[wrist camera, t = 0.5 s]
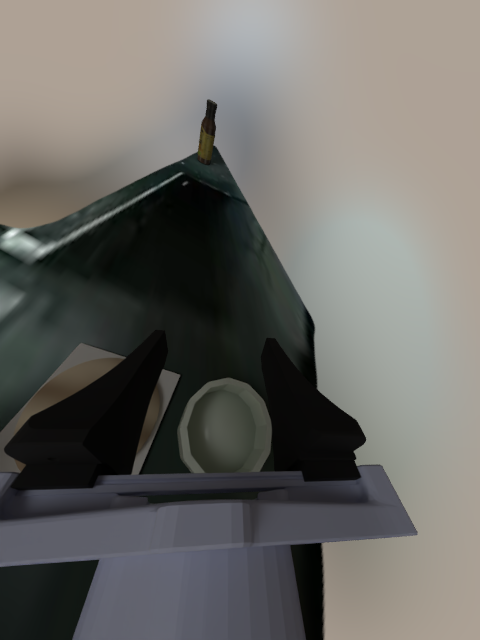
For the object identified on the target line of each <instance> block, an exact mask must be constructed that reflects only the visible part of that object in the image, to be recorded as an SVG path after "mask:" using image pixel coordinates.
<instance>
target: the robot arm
mask: <svg viewBox="0 0 480 640" xmlns="http://www.w3.org/2000/svg"><path fill="white" fill-rule="evenodd" d="M167 353H168V348H167V341H166V335H165V331H162V330H155V331H154V332H153V333H152V334H151V335H150V336H149V337H148V338H147V339H146V340H145V341H144V342H143V343H142V344H141V345H140V346H138V347H137V348H136V349H135V350H134V351H133V352H132V353H131V354H130V355H128V356H127V357H126V358H125V359H124V360H123V361H121V362H120V363H119V364H118V365H116V366H115V367H114V368H113V369H111V370H110V371H108V372H107V373H106V374H104V375H103V376H101V377H100V378H98V379H97V380H95V381H94V382H92V383H91V384H89V385H88V386H86V387H84V388H83V389H81V390H79V391H78V392H76V393H74V394H73V395H71V396H69V397H67V398H65V399H64V400H62V401H60V402H58V403H56V404H54V405H52V406H50V407H48V408H46V409H44V410H42V411H40V412H38V413H36V414H34V415H32V416H31V417H30V418H29V419H28V420H27V421H26V422H25V423H24V425H23V426H22V427H21V428H20V429H19V430H18V432H17V433H16V434H15V435H14V436H13V438H12V439H11V440H10V441H9V442H8V444H7V445H6V446H5V448H4V452H5V453H6V454H7V455H8V456H10V457H12V458H14V459H16V460H18V461H19V462H21V463H23V464H25V465H26V466H25V467H24V468H23V470H22V471H21V473H18V472H0V567H2V566H16V565H29V564H43V563H56V562H70V561H84V560H98V559H100V560H99V563H98V566H97V569H96V572H95V575H94V578H93V581H92V584H91V586H90V589H89V592H88V595H87V598H86V601H85V604H84V607H83V610H82V613H81V616H80V619H79V622H78V624H77V627H76V630H75V633H74V636H73V639H72V640H306V637H305V631H304V625H303V619H302V613H301V607H300V601H299V595H298V589H297V583H296V577H295V571H294V565H293V559H292V553H291V547H290V545H298V544H311V543H324V542H336V541H348V540H349V541H350V540H363V539H376V538H389V537H400V536H413V535H417V531H416V529H415V527H414V525H413V523H412V521H411V520H410V518H409V516H408V514H407V512H406V510H405V508H404V506H403V505H402V503H401V501H400V499H399V497H398V495H397V493H396V491H395V490H394V488H393V486H392V484H391V482H390V480H389V478H388V476H387V475H386V473H385V471H384V469H383V467H382V466H381V465H360V466H356V464H355V461H354V460H355V459H356V456H355V454H354V452H353V451H354V450H356V449H357V448H359V447H360V446H362V445H363V444H364V443H365V441H366V437H365V435H364V433H363V432H362V429H361V428H360V426H359V424H358V422H357V421H356V420H355V419H353V418H352V417H351V416H349V415H348V414H347V413H345V412H344V411H342V410H341V409H340V408H338V407H337V406H336V405H335V404H333V403H332V402H331V401H329V400H328V399H327V398H326V397H325V396H324V395H322V394H321V393H320V392H319V391H318V390H317V389H316V388H315V387H314V386H313V385H312V384H311V383H310V382H309V381H308V380H307V379H306V378H305V377H304V376H303V375H302V374H301V373H300V372H299V370H298V369H297V368H296V367H295V365H294V364H293V363H292V362H291V360H290V359H289V358H288V356H287V355H286V354H285V352H284V351H283V349H282V348H281V347H280V345H279V344H278V342H277V341H276V339H275V338H267V339H266V342H265V345H264V349H263V352H262V355H261V363H262V371H263V376H264V381H265V386H266V390H267V395H268V400H269V407H270V415H271V425H272V437H273V450H274V470H275V472H235V473H190V474H145V475H131V474H132V470H133V466H134V461H135V457H136V453H137V448H138V444H139V440H140V436H141V432H142V428H143V425H144V421H145V417H146V414H147V410H148V407H149V404H150V400H151V397H152V395H153V392H154V390H155V387H156V385H157V382H158V380H159V377H160V375H161V372H162V370H163V367H164V365H165V361H166V357H167ZM258 491H266V492H260V493H258V498H256V499H254V500H196V501H181V502H170V503H160V504H151V503H149V502H148V499H147V497H135V496H146V495H174V494H202V493H230V492H258Z"/></svg>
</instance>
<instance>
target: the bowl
mask: <svg viewBox="0 0 480 640" xmlns="http://www.w3.org/2000/svg"><path fill="white" fill-rule="evenodd" d="M177 434H178V442H179V451H180V458H181V460H182V461H183V462H184V464H185V465H186V466H187V467H188V469H189V470H190V471H191V473H235V472H260V470H261V468H262V466H263V464H264V463H265V461H266V459H267V457H268V455H269V454H270V449H271V435H272V425H271V419H270V416H269V414H268V411H267V408H266V405H265V402H264V401H263V399H262V398H261V397H260V396H259V395H258V394H257V392H256V391H255V390H254V389H253V388H252V387H251V386H250V385H248V384H247V383H244V382H241V381H238V380H235V379H232V378H225V379H220V380H216V381H212V382H208V383H207V384H206V385H204V386H203V387H202V388H201V389H200V390H199V391H198V392H197V393H196V394H195V395H194V396H193V397H192V398H191V399H190V400H189V402H188V403H187V405H186V407H185V410H184V413H183V415H182V418H181V421H180V424H179V427H178V429H177Z"/></svg>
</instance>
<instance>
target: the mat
mask: <svg viewBox="0 0 480 640" xmlns="http://www.w3.org/2000/svg"><path fill="white" fill-rule="evenodd" d="M101 358H121V359H125V358H126V357H123V356H120V355H117V354H114V353H111V352H107V351H104V350H101V349H98V348H95V347H92V346H89V345H86V344H83V343H80V344H79V345H78V346H77V348H76V349H75V350H74V351H73V352H72V353H71V354H70V355H69V356H68V358H67V359H66V360H65V361H64V362H63V363H62V364H61V365H60V366H59V368H58V369H57V370H56V371H55V372H54V373H53V374H52V375H51V377H50V378H49V379H48V380H47V381H46V382H45V383H44V384H43V385H42V387H43V386H44V385H45V384H47V383H48V382H49V381H50V380H52V379H53V378H54V377H56V376H57V375H59V374H60V373H62V372H64V371H66V370H67V369H69V368H71V367H74V366H76V365H78V364H81V363H84V362H87V361H91V360H95V359H101ZM179 377H180V375H179V374H176V373H173V372H170V371H167V370H164V369H163V370H162V372H161V375H160V377H159V380H158V382H157V387H158V391H159V399H160V406H159V413H158V417H157V421H156V423H155V426H154V428H153V430H152V432H151V434H150V436H149V438H148V439H147V441H146V442H145V444H144V445H143V446H142V448H141V449H140V450H139V451H138V453H137V454H136V457H135V461H134V466H133V470H132V474H131V475H139V472H140V470H141V467H142V465H143V463H144V460H145V458H146V456H147V453H148V451H149V448H150V446H151V444H152V441H153V439H154V437H155V434H156V432H157V429H158V427H159V425H160V422H161V420H162V418H163V415H164V413H165V411H166V408H167V406H168V403H169V401H170V399H171V396H172V394H173V392H174V389H175V387H176V384H177V382H178V380H179ZM42 387H41V388H42ZM41 388H40V389H41ZM40 389H39V390H40ZM39 390H38V391H39ZM38 391H37V392H38ZM37 392H36V393H37ZM36 393H35V394H36ZM35 394H34V395H35ZM34 395H33V396H34ZM32 398H33V397H32ZM32 398H31V399H32ZM31 399H30V400H31ZM30 400H29V401H30ZM29 401H28V402H27V403H26V404H25V405H24V407H23V408H22V409H21V410H20V411H19V412H18V413H17V414H16V416H15V417H14V418H13V419H12V420H11V421H10V422H9V423H8V424H7V426H6V427H5V428H4V429H3V430H2V431H1V432H0V472H18V473H21V471H20V470H19V469H18V467H17V465H16V462H15V460H14V458H12V457H10V456H8V455H7V454H6V453H5V452H4V448H5V446H6V445H7V444H8V442H9V441H10V440H11V439H12V438H13V436H14V431H15V428H16V425H17V422H18V420H19V418H20V416H21V414H22V412H23V410H24V409H25V407H26V406H27V404H28V403H29Z"/></svg>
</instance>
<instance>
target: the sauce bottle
mask: <svg viewBox="0 0 480 640" xmlns="http://www.w3.org/2000/svg"><path fill="white" fill-rule="evenodd" d="M216 109H217V104H216V103H215V102H213V101H211V100H207V110H206V116H205V118H204V119H203V121H202V124H201V132H200V141H199V148H198V160H199V161H200V162H201V163H203V164H206V165H209V164H210V160H211V156H212V150H213V144H214V138H215V130H216V126H215V121H214V119H215V113H216Z"/></svg>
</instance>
